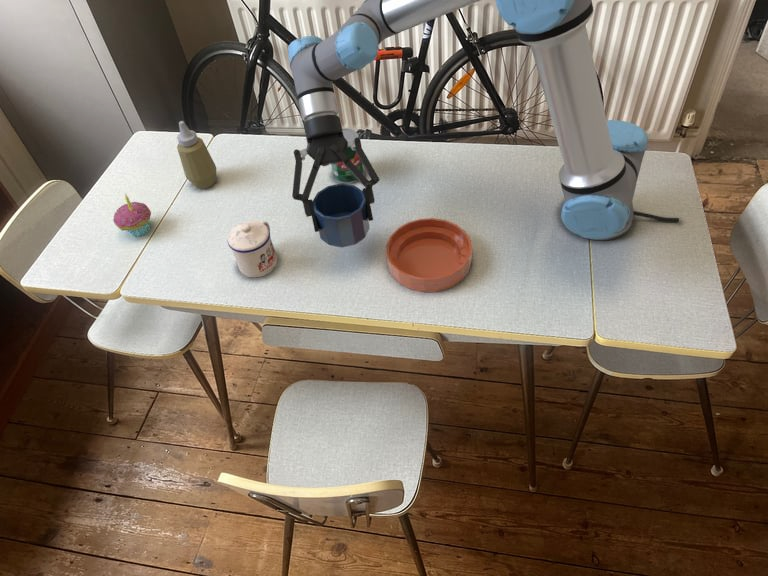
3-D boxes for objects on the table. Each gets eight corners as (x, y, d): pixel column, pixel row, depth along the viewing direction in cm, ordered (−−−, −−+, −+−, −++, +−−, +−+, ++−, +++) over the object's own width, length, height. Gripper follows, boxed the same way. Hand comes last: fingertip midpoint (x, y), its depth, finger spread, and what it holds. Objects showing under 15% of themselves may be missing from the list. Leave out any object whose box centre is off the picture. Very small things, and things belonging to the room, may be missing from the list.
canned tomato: (345, 160, 152) (339, 124, 143) (369, 170, 148) (365, 133, 140) (326, 177, 148) (319, 141, 139) (351, 187, 144) (345, 151, 136)
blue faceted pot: (375, 216, 125) (371, 187, 119) (359, 250, 119) (354, 222, 113) (329, 209, 128) (324, 180, 122) (311, 242, 121) (304, 214, 115)
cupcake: (164, 222, 141) (145, 184, 132) (142, 246, 137) (120, 207, 128) (137, 214, 144) (117, 176, 135) (114, 237, 139) (91, 199, 130)
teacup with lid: (268, 282, 126) (254, 244, 117) (231, 275, 128) (215, 237, 119) (290, 244, 133) (279, 206, 124) (255, 237, 135) (241, 199, 126)
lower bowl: (478, 240, 129) (479, 225, 125) (460, 300, 118) (461, 286, 115) (401, 227, 133) (400, 213, 130) (377, 284, 123) (375, 270, 119)
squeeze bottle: (226, 177, 151) (205, 117, 137) (205, 195, 147) (181, 135, 133) (204, 169, 154) (181, 109, 141) (183, 186, 150) (157, 127, 137)
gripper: (375, 112, 122) (396, 215, 123) (266, 133, 120) (289, 237, 122) (378, 103, 114) (401, 213, 116) (262, 125, 112) (287, 236, 114)
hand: (344, 225), depth 119 cm, fingers closed on blue faceted pot, 11 cm apart
